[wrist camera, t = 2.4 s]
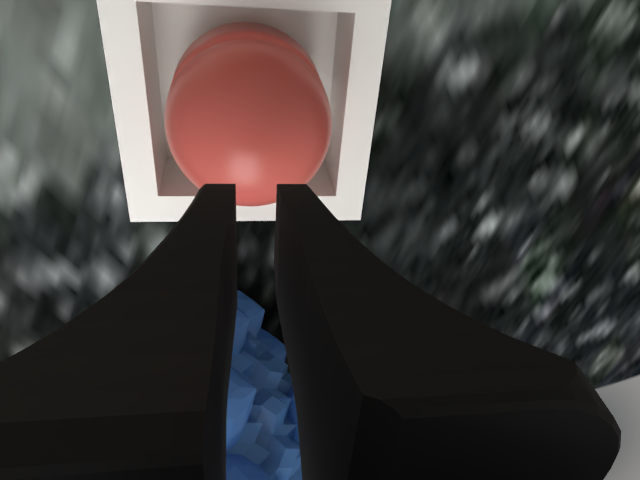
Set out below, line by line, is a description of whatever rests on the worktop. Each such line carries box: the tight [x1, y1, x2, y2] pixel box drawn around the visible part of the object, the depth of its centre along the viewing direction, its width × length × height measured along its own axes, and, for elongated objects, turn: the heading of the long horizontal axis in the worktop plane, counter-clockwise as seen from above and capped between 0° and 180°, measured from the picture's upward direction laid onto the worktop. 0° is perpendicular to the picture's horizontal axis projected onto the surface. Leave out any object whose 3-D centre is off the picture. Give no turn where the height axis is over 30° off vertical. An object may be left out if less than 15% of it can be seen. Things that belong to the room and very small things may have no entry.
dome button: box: [164, 22, 332, 207], centre depth 15 cm, size 5×5×5 cm
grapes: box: [226, 290, 302, 480], centre depth 21 cm, size 12×7×12 cm, turn 18°
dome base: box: [97, 0, 392, 222], centre depth 17 cm, size 8×8×3 cm
